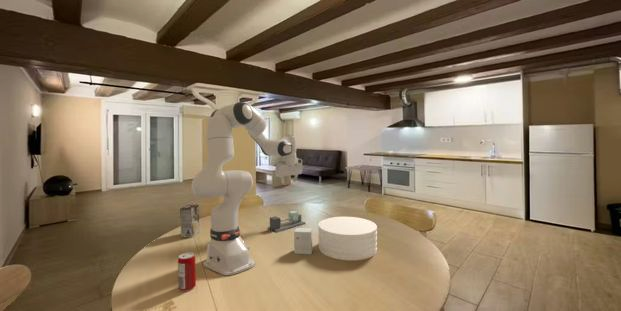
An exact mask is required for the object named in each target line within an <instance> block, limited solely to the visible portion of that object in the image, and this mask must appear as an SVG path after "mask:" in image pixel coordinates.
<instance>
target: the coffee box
mask: <svg viewBox="0 0 621 311" xmlns="http://www.w3.org/2000/svg"><path fill="white" fill-rule="evenodd" d="M179 210H180V211H179V213H180V237H181V236H185V237H192V238H193V236H194V235H195V236H196V235H197V234H199V233H200V232H201V231H200V230H201V229H200V214H199V213H200V208H199V204H187V205H185V206H183V207H181V208H179ZM199 231H200V232H199ZM198 232H199V233H198ZM195 236H194V237H195Z"/></svg>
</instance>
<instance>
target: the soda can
mask: <svg viewBox="0 0 621 311" xmlns="http://www.w3.org/2000/svg"><path fill="white" fill-rule="evenodd" d="M196 274H197V272H196V256H195V253H194V252H184V253H181V254H180V255H178V259H177V275H178V276H177V277H178V278H177V279H178V282H177V283H178V285H177V286H178V290H179V291H181V292H189V291H192V290H193V289H194V288H195V287H196V285H197V283H196V282H197V278H196V277H197V275H196Z"/></svg>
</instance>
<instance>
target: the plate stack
mask: <svg viewBox="0 0 621 311" xmlns="http://www.w3.org/2000/svg"><path fill="white" fill-rule="evenodd" d="M318 251H319V252H320V253H322V254H323V255H325V256H327V257H329V258H332V259H336V260H341V261H361V260H366V259H369V258H371V257H373V256H375V255H376V254H377V252H378V226H377V224H376V223H375V222H373V221H372V220H370V219H366V218H362V217H357V216H333V217H328V218H324V219H322V220H321V221H319V222H318Z"/></svg>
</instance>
